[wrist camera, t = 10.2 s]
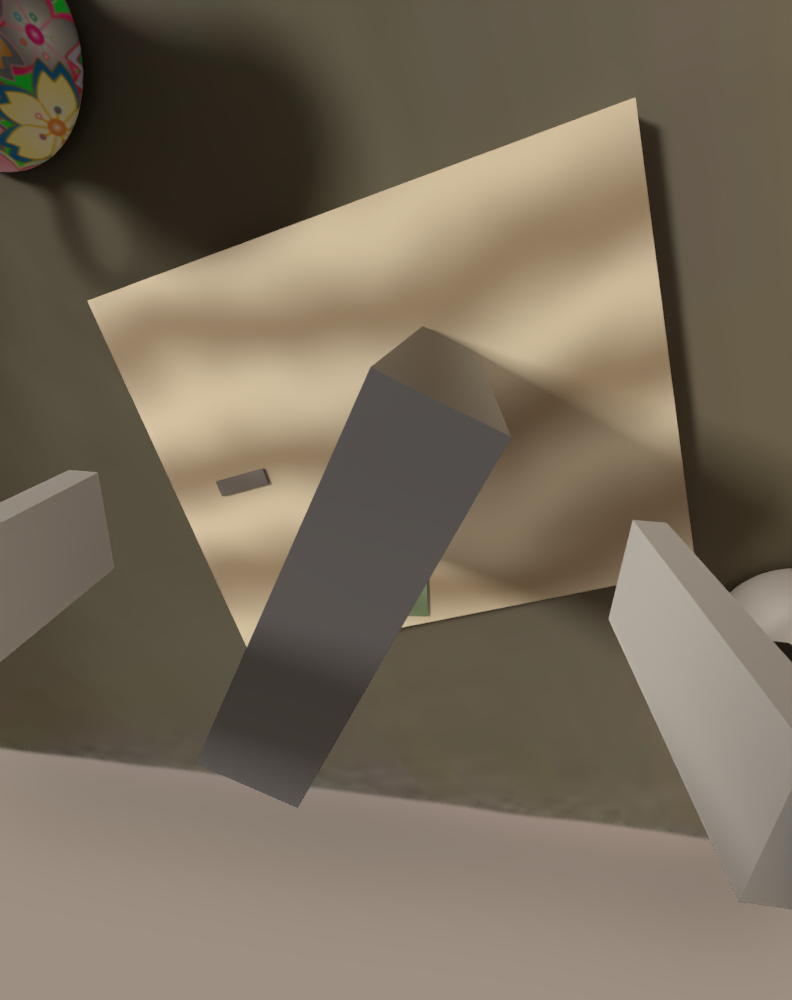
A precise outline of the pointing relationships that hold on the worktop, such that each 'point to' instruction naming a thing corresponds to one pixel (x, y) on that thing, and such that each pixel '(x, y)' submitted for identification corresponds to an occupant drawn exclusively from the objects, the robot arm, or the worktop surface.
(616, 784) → the worktop surface
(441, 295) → the beige flat board
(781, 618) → the water bottle
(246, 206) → the worktop surface
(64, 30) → the mug
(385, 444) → the gray square slab
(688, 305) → the worktop surface
